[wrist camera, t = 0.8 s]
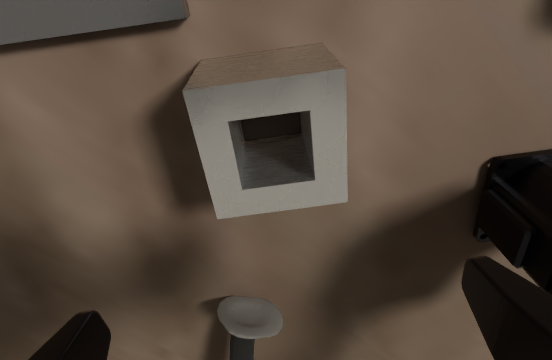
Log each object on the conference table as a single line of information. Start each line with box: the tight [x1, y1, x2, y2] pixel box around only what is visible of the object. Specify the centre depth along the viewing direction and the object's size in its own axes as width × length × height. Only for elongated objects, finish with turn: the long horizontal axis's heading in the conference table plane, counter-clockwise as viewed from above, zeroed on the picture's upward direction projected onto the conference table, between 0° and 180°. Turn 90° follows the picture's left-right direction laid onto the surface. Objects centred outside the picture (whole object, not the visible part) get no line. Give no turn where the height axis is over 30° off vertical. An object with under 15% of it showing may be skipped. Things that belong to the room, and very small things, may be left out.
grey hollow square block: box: [182, 43, 348, 219], centre depth 16 cm, size 6×6×5 cm
